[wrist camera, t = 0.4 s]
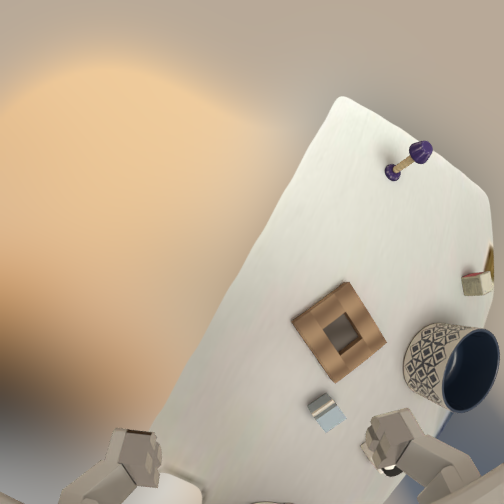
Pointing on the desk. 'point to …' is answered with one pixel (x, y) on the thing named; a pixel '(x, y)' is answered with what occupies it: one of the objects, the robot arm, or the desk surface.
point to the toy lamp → (410, 159)
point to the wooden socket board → (340, 332)
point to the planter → (452, 365)
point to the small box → (477, 284)
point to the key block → (326, 412)
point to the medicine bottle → (388, 471)
